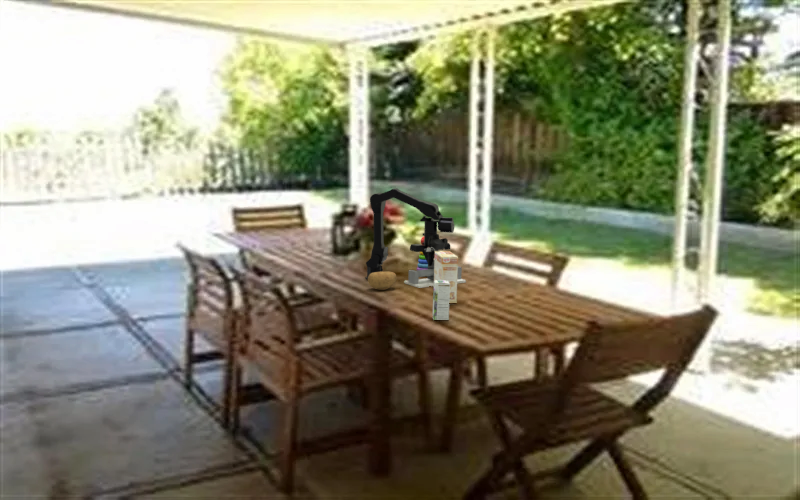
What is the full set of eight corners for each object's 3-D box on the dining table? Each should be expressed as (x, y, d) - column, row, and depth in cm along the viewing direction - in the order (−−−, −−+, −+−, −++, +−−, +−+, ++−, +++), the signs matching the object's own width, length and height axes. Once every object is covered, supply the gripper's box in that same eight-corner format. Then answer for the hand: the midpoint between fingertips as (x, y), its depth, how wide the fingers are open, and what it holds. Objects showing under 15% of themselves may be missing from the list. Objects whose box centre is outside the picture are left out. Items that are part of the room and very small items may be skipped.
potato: (401, 289, 391) (402, 271, 389) (375, 293, 382) (375, 274, 381) (388, 285, 398) (389, 268, 397) (362, 289, 390) (362, 271, 389)
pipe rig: (419, 287, 395) (419, 272, 394) (404, 283, 405) (404, 268, 404) (465, 282, 409) (466, 268, 408) (450, 277, 419) (450, 263, 418)
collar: (436, 281, 403) (436, 262, 402) (427, 278, 408) (427, 260, 407) (441, 280, 405) (442, 262, 403) (432, 278, 410) (433, 259, 409)
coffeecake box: (457, 304, 364) (458, 256, 361) (440, 304, 363) (441, 257, 360) (449, 296, 379) (450, 250, 376) (432, 296, 378) (434, 251, 374)
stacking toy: (431, 277, 420) (432, 237, 417) (414, 276, 421) (415, 236, 418) (434, 274, 427) (435, 235, 424) (417, 273, 429) (418, 234, 426)
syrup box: (432, 317, 341) (433, 279, 338) (447, 317, 341) (448, 280, 339) (433, 321, 335) (434, 282, 333) (449, 321, 335) (450, 282, 333)
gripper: (423, 235, 390) (422, 270, 392) (458, 232, 400) (457, 266, 402) (409, 231, 399) (408, 266, 401) (443, 229, 409) (442, 263, 411)
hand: (429, 265), depth 404 cm, fingers closed
